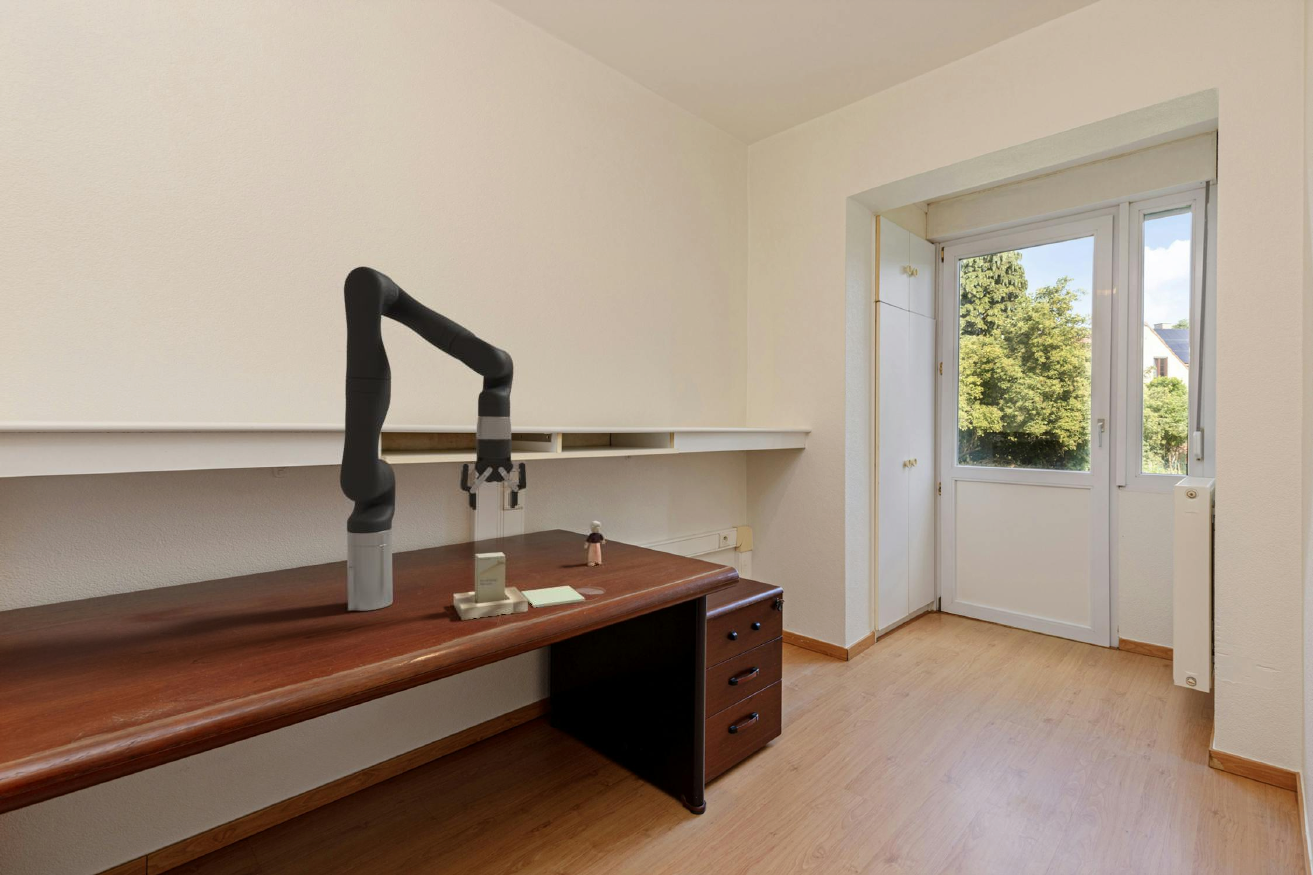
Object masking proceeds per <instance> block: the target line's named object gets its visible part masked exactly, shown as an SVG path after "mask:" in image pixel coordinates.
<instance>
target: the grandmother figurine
mask: <svg viewBox="0 0 1313 875" xmlns="http://www.w3.org/2000/svg"><path fill="white" fill-rule="evenodd" d="M601 527H602V524H601V522H600V521H597V520H593V521H592V522H590V523H589V529H590V531H591V533H589V535H588V537H586V539H585V542H584V545H583V548H584V549H588V553H587V554H588V556H587V557H588V559H587V566H589V567H593V566H594V565H595V566H596V565H597V564H599V565H602V553H601V546H600V545H601V544H602V545H605V544H606V540H605V537H604V535H603V534H602V533H600V530H601ZM588 546H589V548H588Z"/></svg>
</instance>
